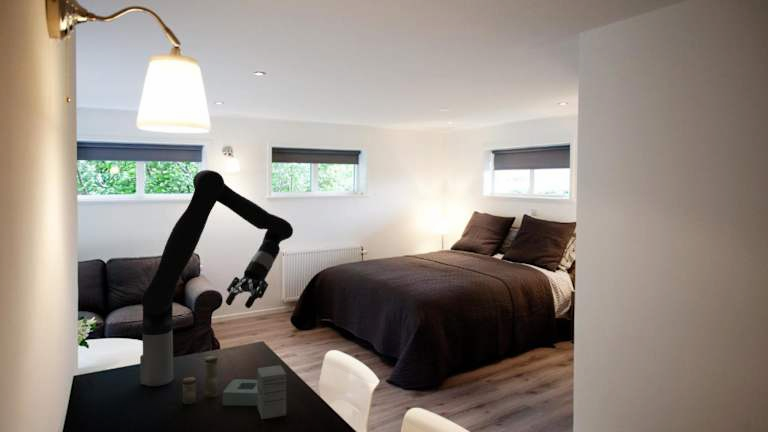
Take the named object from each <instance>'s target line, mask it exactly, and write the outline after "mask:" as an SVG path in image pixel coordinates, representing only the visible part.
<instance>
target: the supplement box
mask: <svg viewBox="0 0 768 432" xmlns="http://www.w3.org/2000/svg"><path fill="white" fill-rule="evenodd" d="M256 370H257V372H256V373H257V376H256V377H257V379H256V380H257V406H256V407H257V410H258V412H259V415H260V419H261V420H267V419H273V418H279V417H284V416H287V373H286V371H285V370H284V368H283V366H282V365H280V364H279V365H271V366H264V367H259V368H257V369H256Z"/></svg>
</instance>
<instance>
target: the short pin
mask: <svg viewBox="0 0 768 432" xmlns="http://www.w3.org/2000/svg"><path fill="white" fill-rule="evenodd" d="M196 379H197V378H196V377H192V376H191V377H185V378H183V379H182V403H183V404H184V405H191V404H195V402H196V401H197V399H196V398H197V396H196V395H197V392H196V391H197V389H196V387H197V386H196Z"/></svg>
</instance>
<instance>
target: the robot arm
mask: <svg viewBox="0 0 768 432" xmlns="http://www.w3.org/2000/svg"><path fill="white" fill-rule="evenodd" d="M192 185H193V188H194V191H193V195H192V196H191V199H190V202H189V204H188V206H187V207H186V209H185V210H184V212H183V213H182V214H181V216H180V218H178V220H177V221H176V222H175V224H174V226H173V228H172V230H171V232H170V234H169V236H168V238H167V241H166V243H165V246H164V249H163V252H162V253H161V257H160V262H159V264H158V268H157V270H156V272H155V274H154V276H153V278H152V280H151V281H150V283H149V285H148V286H147V287H145V289H144V290H143V293H142V295H141V300H140V303H141V306H142V326H141V327H142V328H141V329H142V354H141V355H140V357H139V362H140V363H139V366H140V368H139V370H140V385H145V386H147V387H160V386H163V385H167V384H170V383H171V382H173V380H174V346H173V345H174V343H173V341H174V337H173V330H174V329H173V328H174V327H173V325H174V323H173V320H174V318H173V315H174V314H173V297H174V294H175V291H176V288H177V286H178V283H179V280H180V278H181V276H182V273H183V272H184V270H185V269H186V268H187V265H188V263H189V262H190V260H191V258H192V257H193V254H194V253H195V250H196V248H197V246H198V243H199V241H200V239H201V237H202V234H203V232H204V229H205V227H206V224H207V222H208V219H209V216H210V214H211V212H212V210H213V208H214V207H215V205H216V203H217V202H218V203H220V204H221V205H223V206H225V207H226V208H228V209H229V210H230V211H232V212H234V214H236V215H237V216H238V217H240V218H242V219H243V220H244V221H246V222H248V223H249V224H251V225H252V226H253V227H255V228H257V229H259V230H266V231H265V234H264V236H263V239H262V243H261V244H260V247H259V248H258V250H257V251H256V253H255V254H254V255H253V256H252V258H251V260H250V261H249V263H248V265H247V266H246V269H244V272H243V277H241V278H239V277H238V276H234V278H233V280H232V281H231V282H230V284H229V285H228V287H227V288H226V291H227V292H228V293H229V295H228V296H227V298H226V299H225V304H226V305H227V306H231V305H232V304H233V302H234V301H235V299H236V296H238V295H239V294H242V293H246V292H247V293H250V295H249V296H248V298H247V300H246V301H245V304H244V306H245V308H246V309H250V308H251V307H253V304H254V303H255V301H256V300H257V299H263V297H264V294H265V293H266V290H267V288H268V287H269V283H268V282H267V281H266V278H267V277H268V274H269V273H270V271H271V269H272V267H273V265H274V263H275V261H276V259H277V257H278V256H279V253H280V249H281V248H280V244H281V242H282V241H283V242H284V241H285V240H288V239H290V238H291V237H292V236H293V233H294V229H293V226H292V225H291V223H290V222H289V221H288V220H286V219H284V218H282V217H280V216H278V215H275V214H272V213H270V212H268V211H267V210H266V209H264V208H262V207H261V206H260V205H258V204H257V203H255V202H254V201H252V200H250V199H248V198H246V197H245V196H243V195H241V194H240V193H237V192H236V191H234V189H232V188H230V187H229V186H228V185H227V184H226V183H225V180H224V177H223V176H222V175H221V174H220V173H219V172H217V171H214V170H210V169H205V170H201V171H198V172H197V173H196V174H195V175H194V177H193V180H192Z"/></svg>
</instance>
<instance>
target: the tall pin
mask: <svg viewBox="0 0 768 432" xmlns="http://www.w3.org/2000/svg"><path fill="white" fill-rule="evenodd" d="M204 365H205V366H204V368H205V369H204V370H205V371H204V372H205V398H209V399H210V398H215V397H217V396H218V395H219V393H218V392H219V391H218V388H219V387H218V385H219V383H218V356H216V355H211V356H210V355H209V356H206V357H205V358H204Z"/></svg>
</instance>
